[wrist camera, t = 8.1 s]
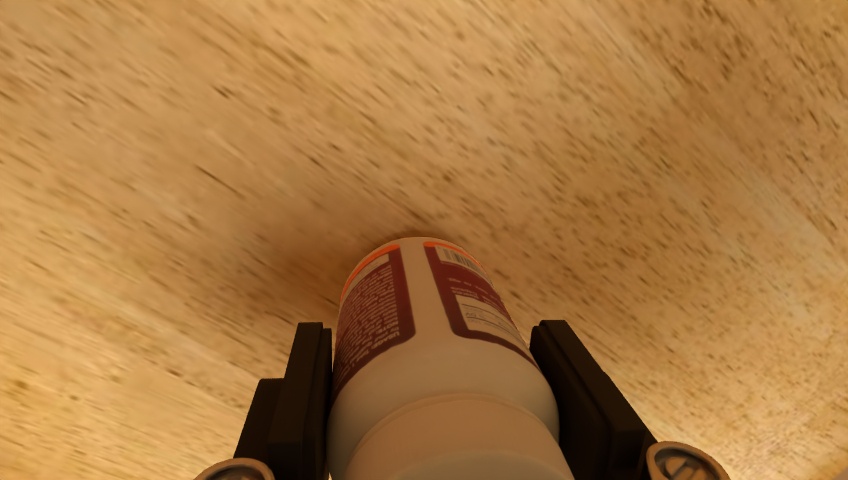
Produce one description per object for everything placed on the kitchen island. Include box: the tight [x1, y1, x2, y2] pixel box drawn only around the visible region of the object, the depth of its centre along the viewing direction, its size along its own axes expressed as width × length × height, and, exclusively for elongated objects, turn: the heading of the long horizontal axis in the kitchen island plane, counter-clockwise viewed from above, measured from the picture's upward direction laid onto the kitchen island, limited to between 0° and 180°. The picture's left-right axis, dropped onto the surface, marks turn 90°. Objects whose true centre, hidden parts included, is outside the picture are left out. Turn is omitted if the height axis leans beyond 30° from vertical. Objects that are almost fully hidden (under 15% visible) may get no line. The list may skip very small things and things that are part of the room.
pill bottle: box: [325, 237, 575, 480], centre depth 12 cm, size 5×5×8 cm
